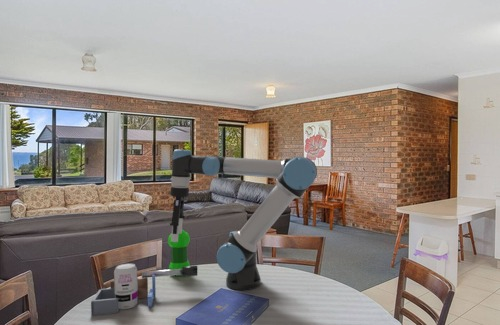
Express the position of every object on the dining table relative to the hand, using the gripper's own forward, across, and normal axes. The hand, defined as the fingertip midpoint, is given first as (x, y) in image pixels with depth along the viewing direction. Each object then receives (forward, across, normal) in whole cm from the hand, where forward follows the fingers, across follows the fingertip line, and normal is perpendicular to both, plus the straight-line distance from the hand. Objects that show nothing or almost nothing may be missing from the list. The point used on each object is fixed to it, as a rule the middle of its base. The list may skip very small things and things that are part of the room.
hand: (176, 237), depth 143 cm
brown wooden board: (+24, +5, -16) cm, 30 cm away
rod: (+22, +8, 0) cm, 24 cm away
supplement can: (+24, +12, -16) cm, 31 cm away
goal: (+24, +13, -22) cm, 35 cm away
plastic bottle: (+24, -21, 0) cm, 32 cm away
